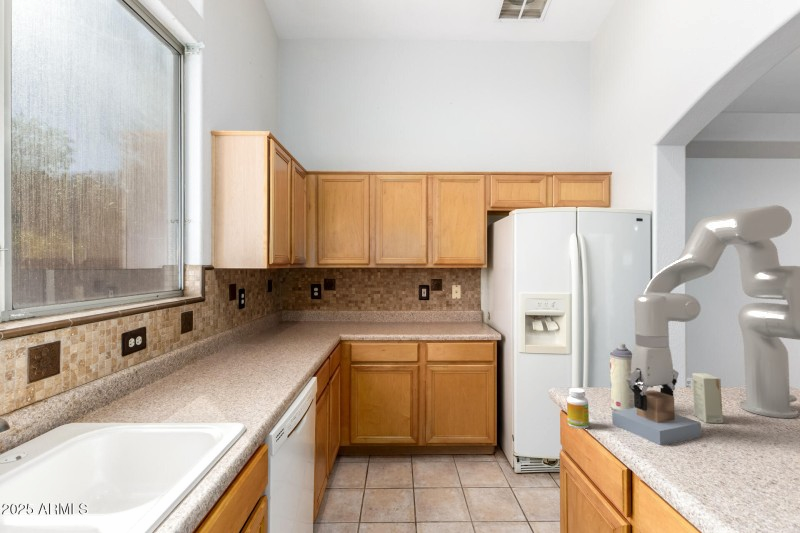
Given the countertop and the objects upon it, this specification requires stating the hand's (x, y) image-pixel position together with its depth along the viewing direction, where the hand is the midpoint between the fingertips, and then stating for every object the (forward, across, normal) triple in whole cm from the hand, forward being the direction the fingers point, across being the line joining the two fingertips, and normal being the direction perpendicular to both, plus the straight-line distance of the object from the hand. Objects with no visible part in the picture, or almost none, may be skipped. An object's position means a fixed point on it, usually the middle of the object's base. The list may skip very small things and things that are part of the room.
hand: (654, 406), depth 104 cm
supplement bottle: (+6, +16, -10) cm, 20 cm away
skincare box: (+6, -20, 0) cm, 21 cm away
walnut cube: (+3, 0, 0) cm, 3 cm away
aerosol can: (+6, -5, -14) cm, 16 cm away
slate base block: (+7, 0, 0) cm, 7 cm away
